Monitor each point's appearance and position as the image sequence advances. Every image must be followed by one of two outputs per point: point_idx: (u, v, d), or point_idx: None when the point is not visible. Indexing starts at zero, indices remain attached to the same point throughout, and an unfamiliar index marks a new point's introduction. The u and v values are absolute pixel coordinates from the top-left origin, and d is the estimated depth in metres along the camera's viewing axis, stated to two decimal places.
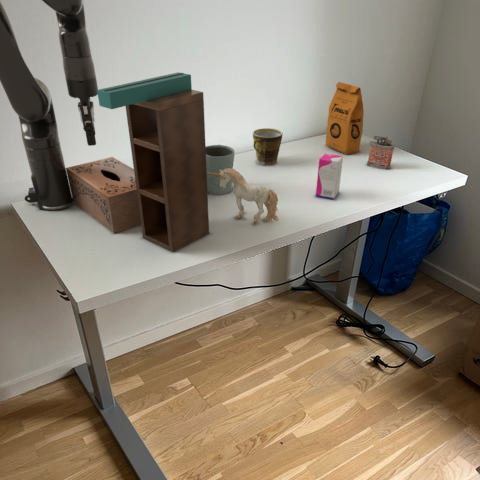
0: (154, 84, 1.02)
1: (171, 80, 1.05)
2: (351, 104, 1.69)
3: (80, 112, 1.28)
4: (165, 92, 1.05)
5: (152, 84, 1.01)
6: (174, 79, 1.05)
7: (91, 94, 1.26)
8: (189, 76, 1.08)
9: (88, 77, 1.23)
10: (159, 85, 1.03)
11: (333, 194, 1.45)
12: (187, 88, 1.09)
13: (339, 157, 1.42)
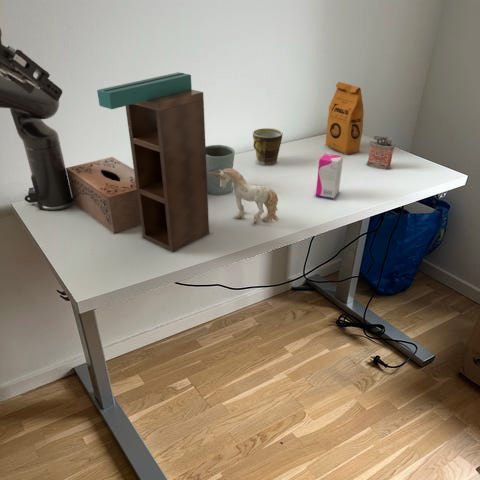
0: (154, 84, 1.02)
1: (171, 80, 1.05)
2: (351, 104, 1.69)
3: (10, 72, 0.79)
4: (165, 92, 1.05)
5: (152, 84, 1.01)
6: (174, 79, 1.05)
7: None
8: (189, 76, 1.08)
9: None
10: (159, 85, 1.03)
11: (333, 194, 1.45)
12: (187, 88, 1.09)
13: (339, 157, 1.42)
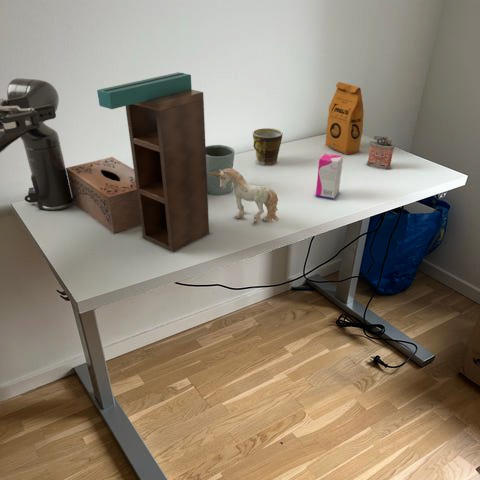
0: (154, 84, 1.02)
1: (171, 80, 1.05)
2: (351, 104, 1.69)
3: None
4: (165, 92, 1.05)
5: (152, 84, 1.01)
6: (174, 79, 1.05)
7: None
8: (189, 76, 1.08)
9: None
10: (159, 85, 1.03)
11: (333, 194, 1.45)
12: (187, 88, 1.09)
13: (339, 157, 1.42)
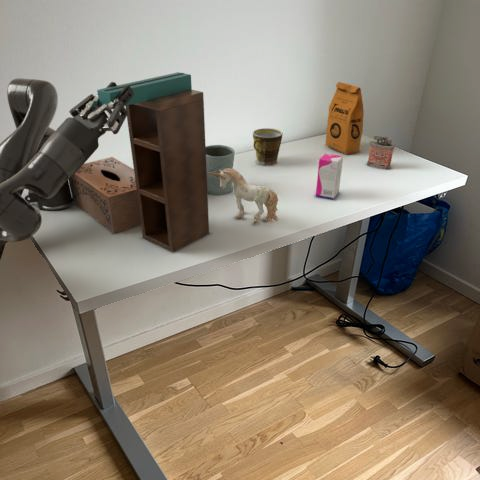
0: (154, 84, 1.02)
1: (171, 80, 1.05)
2: (351, 104, 1.69)
3: None
4: (165, 91, 1.05)
5: (152, 84, 1.01)
6: (174, 79, 1.05)
7: (85, 129, 0.93)
8: (189, 76, 1.08)
9: (71, 145, 0.92)
10: (159, 85, 1.03)
11: (333, 194, 1.45)
12: (187, 88, 1.09)
13: (339, 157, 1.42)
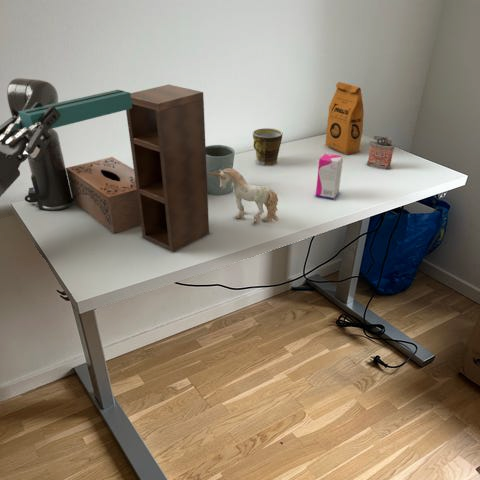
0: (86, 104, 0.92)
1: (106, 99, 0.95)
2: (351, 104, 1.69)
3: None
4: (100, 112, 0.95)
5: (83, 104, 0.92)
6: (110, 98, 0.95)
7: (0, 156, 0.83)
8: (128, 95, 0.98)
9: None
10: (92, 105, 0.93)
11: (333, 194, 1.45)
12: (127, 107, 0.99)
13: (339, 157, 1.42)
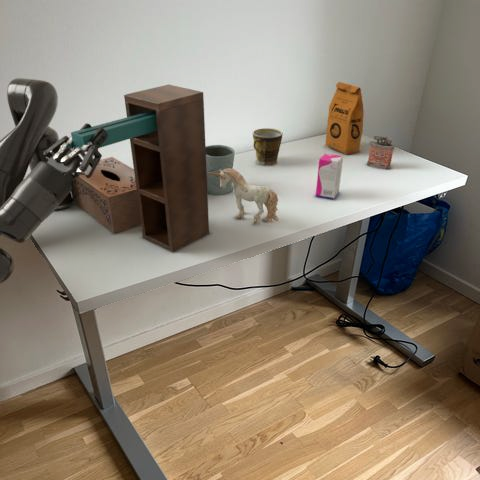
0: (129, 125, 1.01)
1: (147, 119, 1.04)
2: (351, 104, 1.69)
3: None
4: (141, 131, 1.04)
5: (127, 125, 1.01)
6: (150, 118, 1.05)
7: (57, 174, 0.92)
8: None
9: (43, 190, 0.91)
10: (135, 125, 1.02)
11: (333, 194, 1.45)
12: None
13: (339, 157, 1.42)
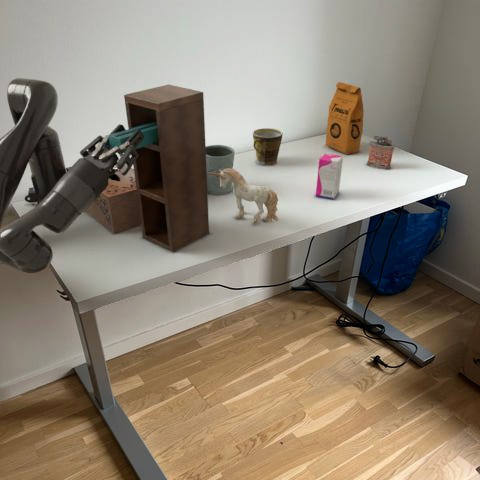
0: None
1: None
2: (351, 104, 1.69)
3: None
4: None
5: None
6: None
7: (96, 170, 0.98)
8: None
9: (83, 184, 0.97)
10: None
11: (333, 194, 1.45)
12: None
13: (339, 157, 1.42)
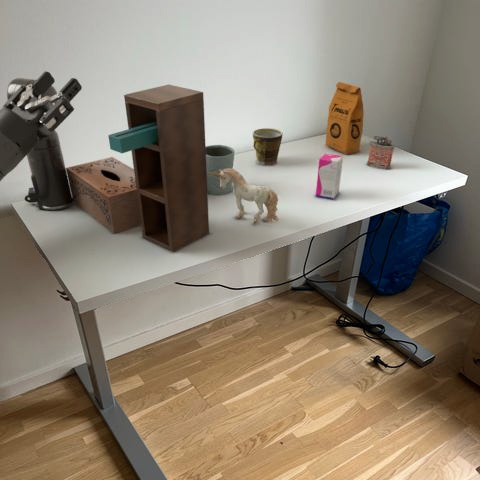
0: None
1: None
2: (351, 104, 1.69)
3: None
4: None
5: None
6: None
7: (20, 121, 0.83)
8: None
9: (4, 138, 0.82)
10: None
11: (333, 194, 1.45)
12: None
13: (339, 157, 1.42)
